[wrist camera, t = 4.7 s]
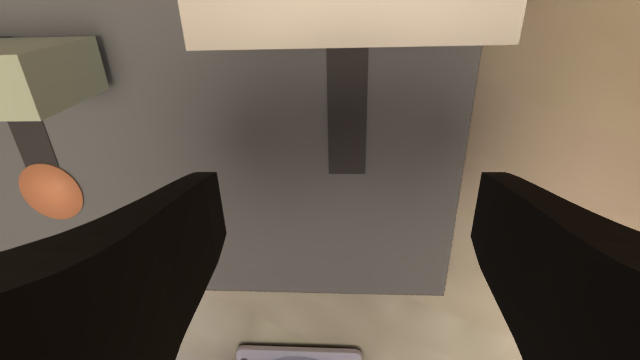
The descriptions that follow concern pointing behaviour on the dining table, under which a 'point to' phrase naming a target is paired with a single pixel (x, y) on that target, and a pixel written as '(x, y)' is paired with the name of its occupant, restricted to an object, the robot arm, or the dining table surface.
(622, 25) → the dining table surface
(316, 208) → the switch panel
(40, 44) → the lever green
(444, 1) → the lever white
